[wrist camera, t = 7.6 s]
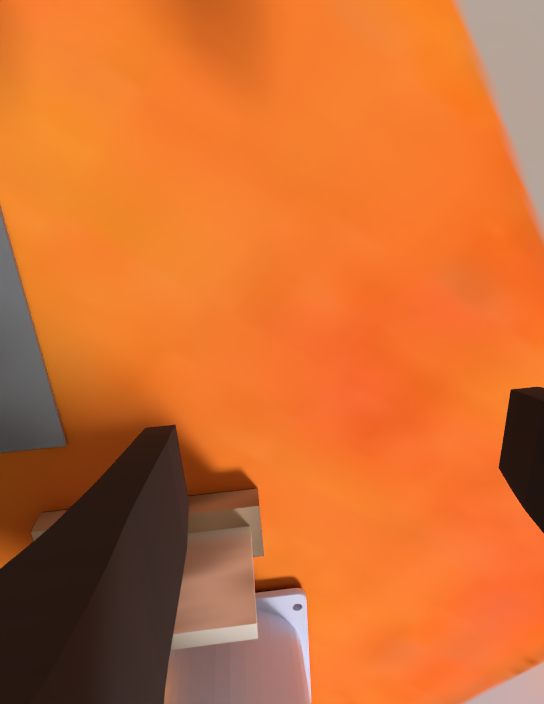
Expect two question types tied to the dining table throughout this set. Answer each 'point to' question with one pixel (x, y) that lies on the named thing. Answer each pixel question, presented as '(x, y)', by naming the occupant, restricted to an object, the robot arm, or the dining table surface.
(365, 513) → the dining table surface
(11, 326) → the coaster
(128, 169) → the dining table surface
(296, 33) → the dining table surface
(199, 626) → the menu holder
